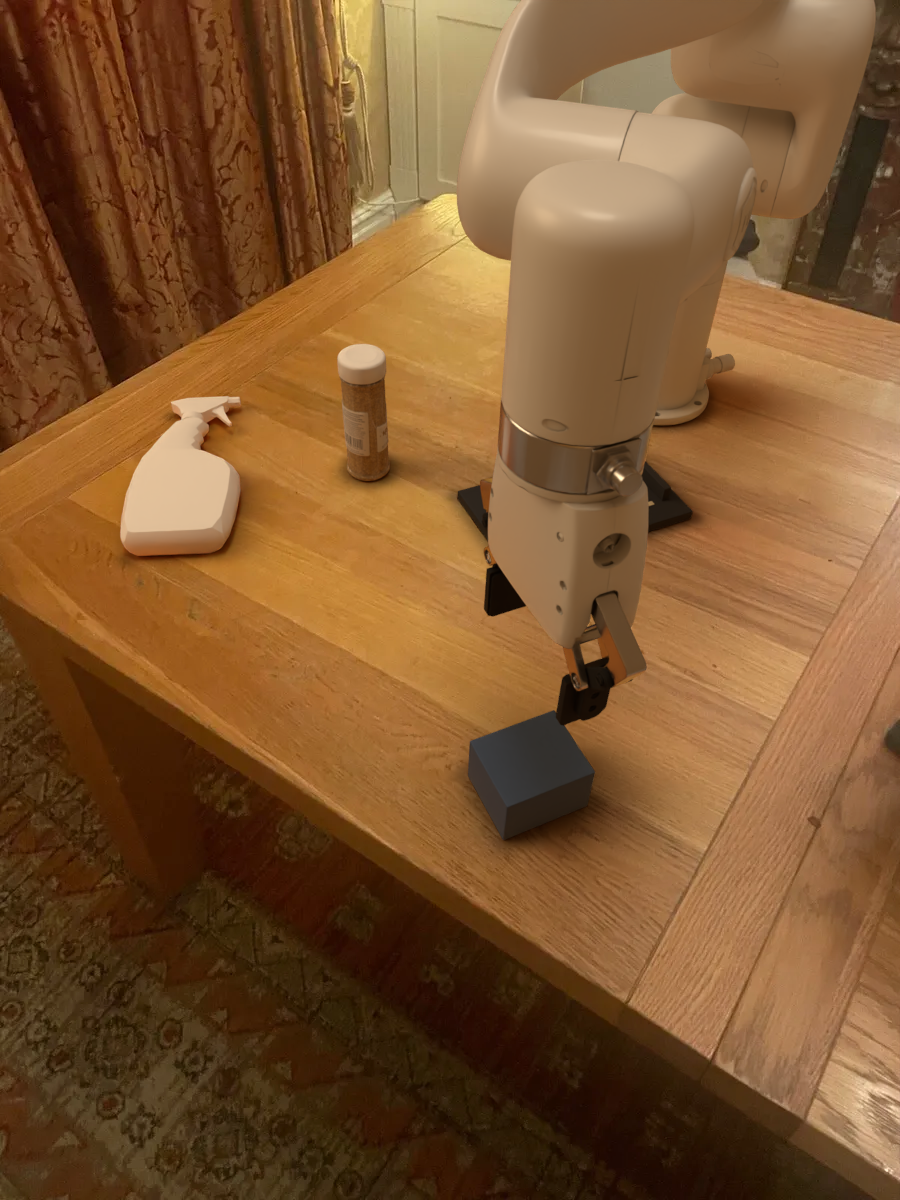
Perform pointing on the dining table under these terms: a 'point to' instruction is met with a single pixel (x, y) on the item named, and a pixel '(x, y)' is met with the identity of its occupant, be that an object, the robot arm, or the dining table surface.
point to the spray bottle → (182, 487)
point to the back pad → (529, 774)
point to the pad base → (660, 502)
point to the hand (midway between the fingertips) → (541, 658)
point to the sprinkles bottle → (364, 410)
